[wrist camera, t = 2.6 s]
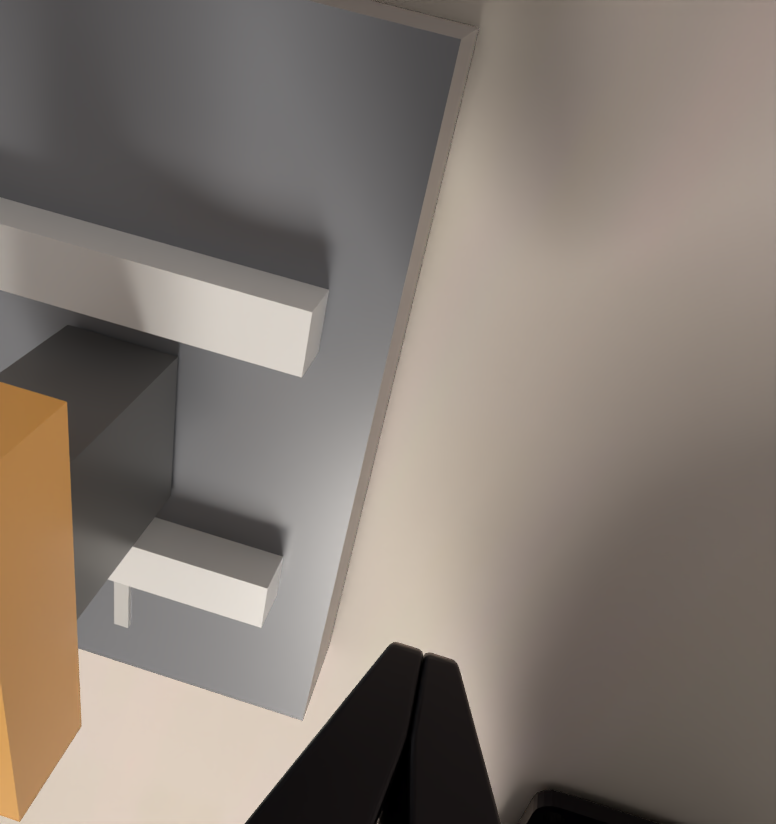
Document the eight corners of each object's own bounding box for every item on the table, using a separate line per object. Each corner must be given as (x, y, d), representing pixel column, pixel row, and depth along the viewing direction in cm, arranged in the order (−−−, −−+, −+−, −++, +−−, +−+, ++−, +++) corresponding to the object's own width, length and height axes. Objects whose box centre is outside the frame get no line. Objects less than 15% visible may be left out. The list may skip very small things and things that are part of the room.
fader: (208, 279, 10) (-28, 483, 6) (188, 560, 13) (20, 821, 9) (38, 230, 11) (-301, 398, 6) (55, 519, 14) (-167, 757, 9)
